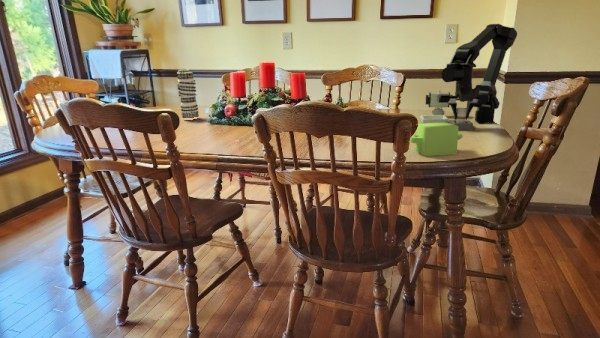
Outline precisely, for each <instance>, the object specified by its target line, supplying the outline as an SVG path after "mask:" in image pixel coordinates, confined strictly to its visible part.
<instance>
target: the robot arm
mask: <svg viewBox="0 0 600 338" xmlns="http://www.w3.org/2000/svg"><path fill="white" fill-rule="evenodd" d="M517 37H518V31H517V30H516V29H515V28H514V27H510V26H507V25H506V26H505V25H502V24H500V23H489V24H487V25H486V26H485V28H484V29H483V30H482V31H481V32H480V33H479V34H478V35H476V36H475V38H473V39H472V40H471V41H468V42H466V43H463V44H461V45H460V46H458V47H457V48H456V50H455V52H454V53H453V56H452V57H451V59H450V62H449V63H446V67H444V68H443V70H442V71H441V74H440V75H441V79H442V81H443V82H445V83H452V82H455V90H454V91H455V92H454V95H453V96H450V95H451V94H450V95H448V94H438V95H437V101H438V102H439V103H448V104H449V107H450V108H451V110H452V113H453V117H454V120H456V119H457V108H458V107H457V106H458V103H457V102H456V101H460V102H467V103H466V108H467V111H466V120H468V118H469V116H470V114H471V112H472V109H473V108H476V110H475V112H474V113H475V114H474V121H475V122H477V123H478V124H495V120H494V119H495V110H497V109H499V106H500V101H499V99H498V97H497V93H498V91H497V88H496V84H497V80H498V76H499V74H500V71H501V68H502V66H503V63H504V59H505V56H506V54H507V51H508V50H509V49H510V48H511V47H513V45H514V43H515V41H516V39H517ZM490 42H491V44H492V47H493V50H492V52H491V56H490V59H489V61H488V64H487V68H486V71H485V72H484V73H485V74H484V77H483V80H482V82H481V83H480V84H476V85H475V87H474V88H473V73H474V68H476V67H477V65H476V64H475V61H476V59H477V58H478V57H479V56H480V51H481V50H482V49H483V48H484V47H485V46H487V44H489V43H490ZM477 123H476V124H477Z"/></svg>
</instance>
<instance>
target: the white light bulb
mask: <svg viewBox="0 0 600 338" xmlns="http://www.w3.org/2000/svg"><path fill="white" fill-rule="evenodd" d="M466 111H467V107H457V119H456V123H466Z"/></svg>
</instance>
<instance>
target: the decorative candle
mask: <svg viewBox="0 0 600 338" xmlns="http://www.w3.org/2000/svg"><path fill="white" fill-rule="evenodd" d="M176 74H177V82H178V83H177V84H176V86H177V90H178V91H177V92H178V97H179V98H180V108H181V109H180V111H181V115H182V116H181V118H182V119H183V118H194V117H199V115H200V114H199V113H200V112H199V106H198V103H197V98H196V97H197V94H196V92H197V89H196V88H197V87H196V86H195V85H196V80H195V79H194V72H193V70H192V69H190V68H181V69H180V68H179V69H178V71H177V72H176Z"/></svg>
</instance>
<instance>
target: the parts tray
mask: <svg viewBox="0 0 600 338" xmlns="http://www.w3.org/2000/svg"><path fill="white" fill-rule="evenodd" d="M419 117H420V118H419V122H420V124H425V123H449V118H448V117H447V116H446V115H445V114H444V115H432V114H429V115H428V114H423V115H422V114H421V115H420V116H419Z"/></svg>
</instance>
